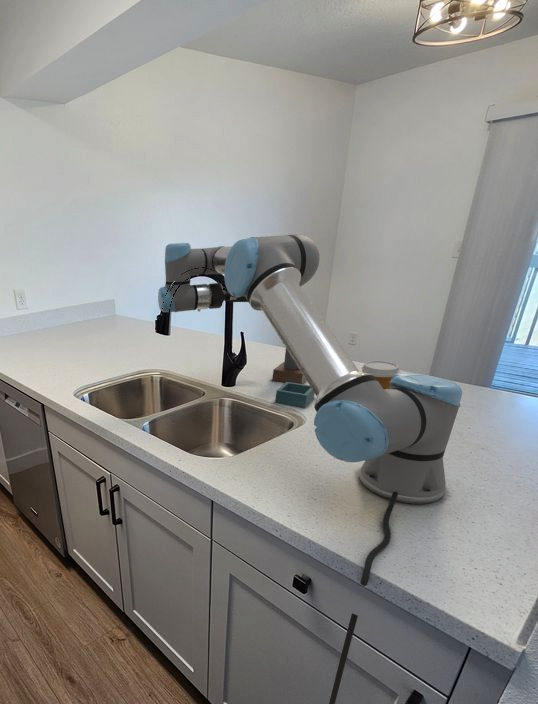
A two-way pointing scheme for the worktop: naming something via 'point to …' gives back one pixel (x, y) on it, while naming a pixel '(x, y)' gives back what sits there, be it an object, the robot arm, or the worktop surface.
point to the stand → (287, 375)
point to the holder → (294, 394)
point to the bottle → (289, 362)
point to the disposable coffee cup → (381, 371)
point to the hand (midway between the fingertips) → (273, 291)
